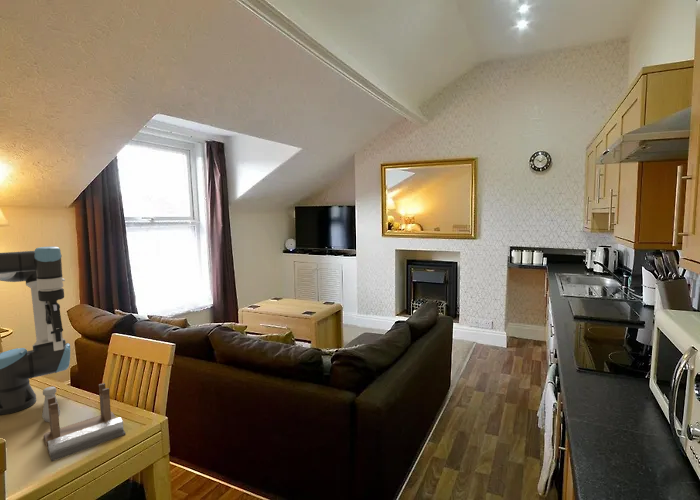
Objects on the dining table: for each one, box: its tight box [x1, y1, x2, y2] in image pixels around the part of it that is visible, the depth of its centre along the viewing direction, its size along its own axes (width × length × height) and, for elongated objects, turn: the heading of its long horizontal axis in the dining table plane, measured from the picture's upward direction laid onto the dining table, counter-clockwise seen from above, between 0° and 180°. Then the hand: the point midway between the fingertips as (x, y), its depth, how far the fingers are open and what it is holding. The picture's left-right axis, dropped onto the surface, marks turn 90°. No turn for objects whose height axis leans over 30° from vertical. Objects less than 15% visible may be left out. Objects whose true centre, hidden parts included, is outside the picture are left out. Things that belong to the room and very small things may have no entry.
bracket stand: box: [43, 382, 117, 448], centre depth 146 cm, size 8×22×14 cm, turn 134°
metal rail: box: [47, 416, 124, 457], centre depth 140 cm, size 4×22×4 cm, turn 134°
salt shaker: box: [41, 386, 61, 423], centre depth 154 cm, size 6×6×13 cm
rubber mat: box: [47, 429, 127, 462], centre depth 140 cm, size 9×22×1 cm, turn 134°
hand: (55, 345), depth 145 cm, fingers open, 13 cm apart
